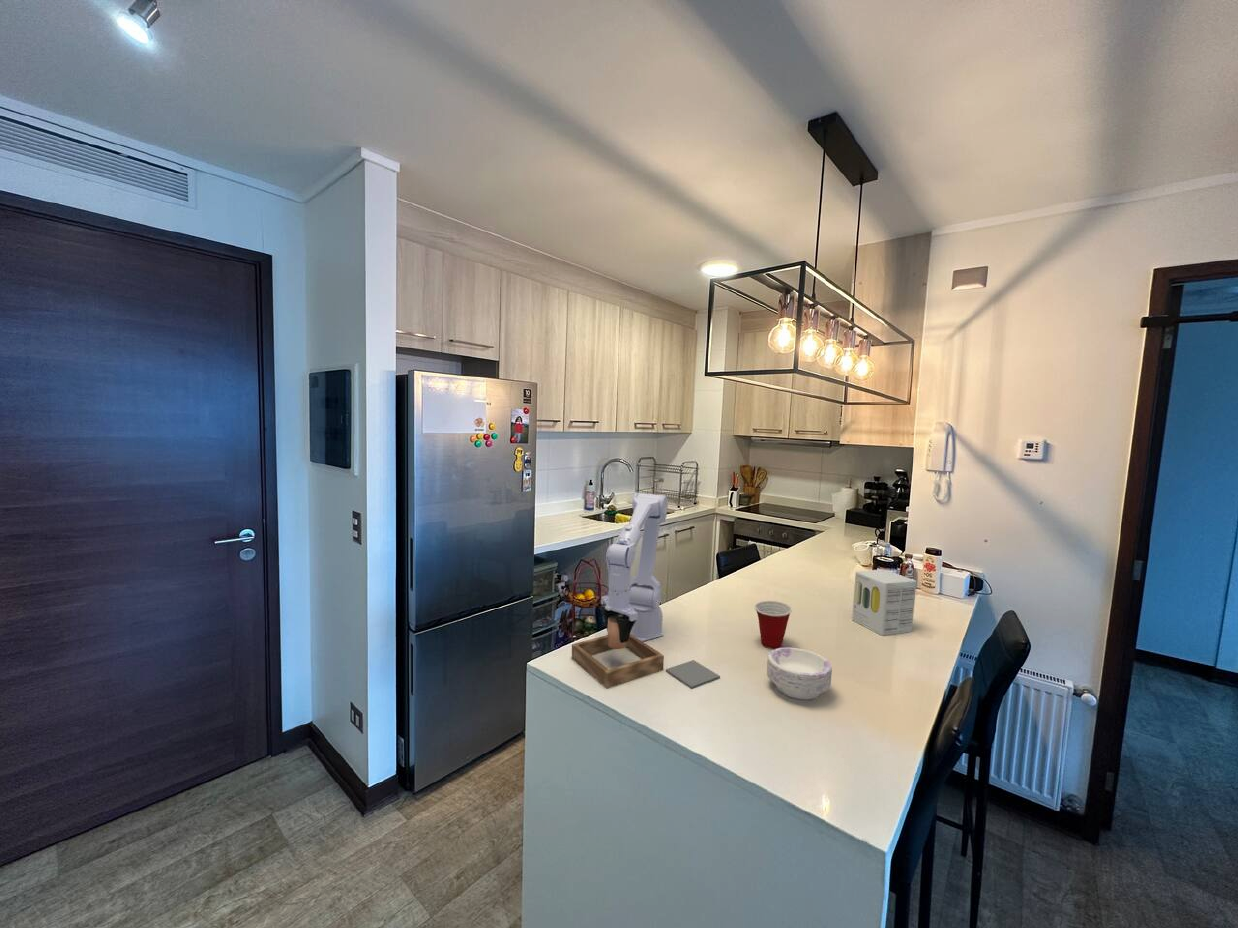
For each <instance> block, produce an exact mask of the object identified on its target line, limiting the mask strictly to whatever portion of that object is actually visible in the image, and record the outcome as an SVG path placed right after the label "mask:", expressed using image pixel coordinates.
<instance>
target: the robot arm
mask: <svg viewBox="0 0 1238 928" xmlns="http://www.w3.org/2000/svg"><path fill="white" fill-rule="evenodd" d="M631 502H632V515H631V517H630V520H629V523H628V524H625V525H624V526H623V527H622V528H621V531H620V532H619V535H617V536H618V537H617V538H616V541H615V542H614V543H612V544H610V545H609V546H607V551H606V555H605V562H606V565H607V569H606V570H607V572H609V573H608V595H603V596H601V599H600V600H601V602H600V603H601V604H602V605H604V606H602V607H600V613H601V614H602V616H603V619H604V622H605V627H606V632H607V633H608V618H609V617H610V616H612V615H623V617H622V616H621V617H617V618H616V620H617V623H618V626H619V637H620V642H621V643H624V642H627V641H628V639H629V635H630V634H632V635H633V636H635V637H636V638H638V639H639V640H641V641H642V642H645V641H646V642H647V641H650V640H652V639H655V638H660V637H664V633H663V612H662V608H661V607H660V604H661V601H662V584H661V582H660V580H658V579H657V578H656V576H654V573H655V567H656V566H655V565H656V559H657V558H656V557H657V550H658V543H659V542H658V541H659V535H660V534H659V533H660V532H659V531H660V528H661V524H663V523H664V522H666V519H667V514H668V507H669V506H668V503H669V502H668V497H667V496H666V494H652V493H643V492H636V493H635V494H634V495H633V497H632V501H631ZM641 529H643V533H642V531H641ZM641 538H642V541H641V549H640V555H639V556H640V557H639V563H638V570H637V571H638V572H637V575H635V576H633V577H631V571H632V570H631V568H632V566H633V565H634V562H635V557H636V552H637V547H638V544H639V542H640V540H641Z"/></svg>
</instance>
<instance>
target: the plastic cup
mask: <svg viewBox="0 0 1238 928" xmlns="http://www.w3.org/2000/svg"><path fill="white" fill-rule="evenodd" d="M754 610H755V612H756V614H757V618H758V627H759V634H760V640H761V646H763V647H766V648H768V649H771V650H774V649H778V648H782V646H783V641H784V638H785V634H786V631H787V627H788V622H789V618H790V615H791V613H792V612H793V609H792V607H791V606H790V605H789V604H787V603H785V602H782V601H777V600H762V601H757V602H756V603H755V604H754Z"/></svg>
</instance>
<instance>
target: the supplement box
mask: <svg viewBox="0 0 1238 928" xmlns="http://www.w3.org/2000/svg"><path fill="white" fill-rule="evenodd" d="M853 590H854V591H853V604H852V615H851V616H852V617H851V621H853V620H854V621H853V622H854V623H856V622H857V623H856V624H858V623H859V624H858V625H860V624H861V625H860V626H862V625H863V626H862V627H864V628H866V629H868V630H870V631H873V632H874V633H876V634H878V635H880V636H891V635H898V634H899V635H900V634H906V633H912V632H913V623H914V611H915V599H916V591H917V580H915V579H913V578H909V577H907V576H904V575H901V574H898V573H895V572H892V571H890V570H887V569H883V568H881V569H870V570H859V571H855V576H854V589H853Z"/></svg>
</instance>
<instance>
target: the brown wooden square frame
mask: <svg viewBox="0 0 1238 928" xmlns="http://www.w3.org/2000/svg"><path fill="white" fill-rule="evenodd" d="M607 635H608V634H606V635H602V636H599V637H594V638H592V639H591V638H590V639H587V640H586V639H585V640H584V641H579V642H576V643H572V644H571V659H572V660H573V661H574V662H576V663H577V664H578V665H579V666H580V667H581V668H582V669H584V670H585V671H586V672H587V673H588V674H589V675H590V676H591V677H593V678H594V679H595V680H596V679H597V680H598V682H599V684H601V685H602V684H603V685H604V686H605V687H604V686H603V685H602V686H603V687H604V688H605V689H609V687H610V688H612V686H613V687H616V686H619V685H622V684H625V683H628V682H630V680H631V681H634V680H637V679H641V678H643V677H646V676H648V675H651V674H654V673H657V672H661V671H664V664H665V663H664V662H665V661H664V660H665V658H664V657H665V655H664V654H662V653H661V652H660V651H658V650H657V649H656V648H655V649H654V648H653V647H652V646H651V645H649V644H647V643H646V642H645V641H641V640H639V639H638V638H636V637H635V636H633V635H632V634H630V635H629V639H628V643H627V646H626V647H625V648H626V649H627V650H628V651H630V652H632V653H633V654H635V655H636V656H637V657H639V658H640V659H639V660H635V661H633V662H629V663H626V664H623V665H619V666H617V667H613V668H608V667H606V666H605V665H603V664H602V663H601V662H600V661H599V660H597V659H596V658H595V657H594V656H593V655H596V654H599V653H603V652H607V651H611V650H614V648H611V647H609V646H608V645H607ZM597 680H596V681H597ZM618 684H619V685H618ZM615 685H616V686H615Z"/></svg>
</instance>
